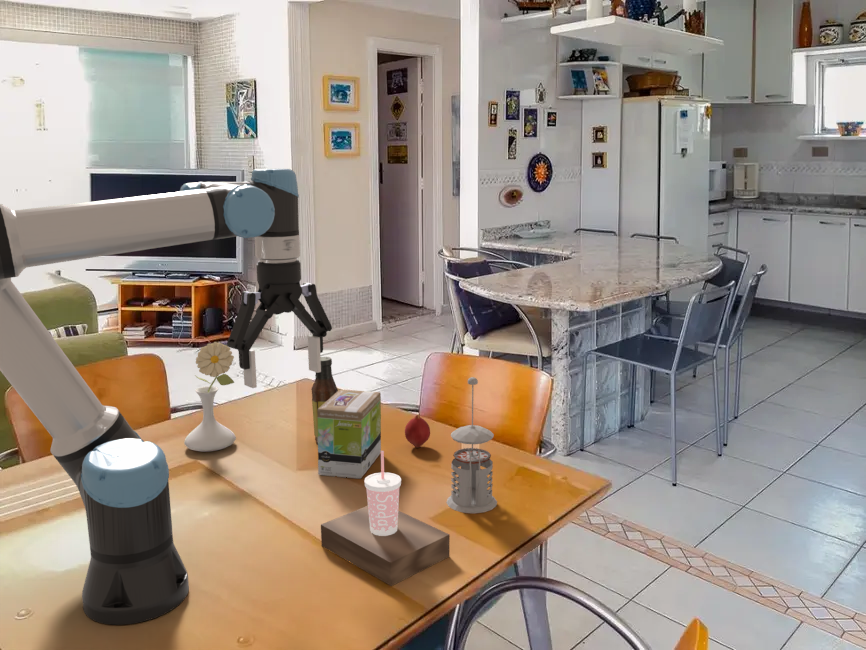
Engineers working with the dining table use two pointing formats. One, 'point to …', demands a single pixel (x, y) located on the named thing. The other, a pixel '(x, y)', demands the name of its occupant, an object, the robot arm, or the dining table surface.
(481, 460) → the french press
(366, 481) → the beverage cup
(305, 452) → the dining table surface
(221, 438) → the flower in vase
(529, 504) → the dining table surface
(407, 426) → the onion
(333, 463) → the tea box
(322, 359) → the sauce bottle
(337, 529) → the walnut pedestal
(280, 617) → the dining table surface
